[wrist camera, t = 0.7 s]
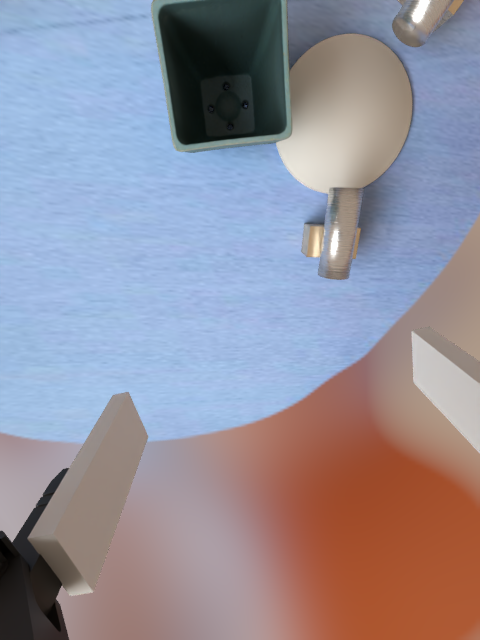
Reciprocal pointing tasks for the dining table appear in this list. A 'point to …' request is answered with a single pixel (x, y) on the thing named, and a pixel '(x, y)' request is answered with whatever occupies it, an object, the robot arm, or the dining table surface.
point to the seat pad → (346, 113)
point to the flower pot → (224, 71)
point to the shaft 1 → (335, 233)
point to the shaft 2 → (422, 19)
